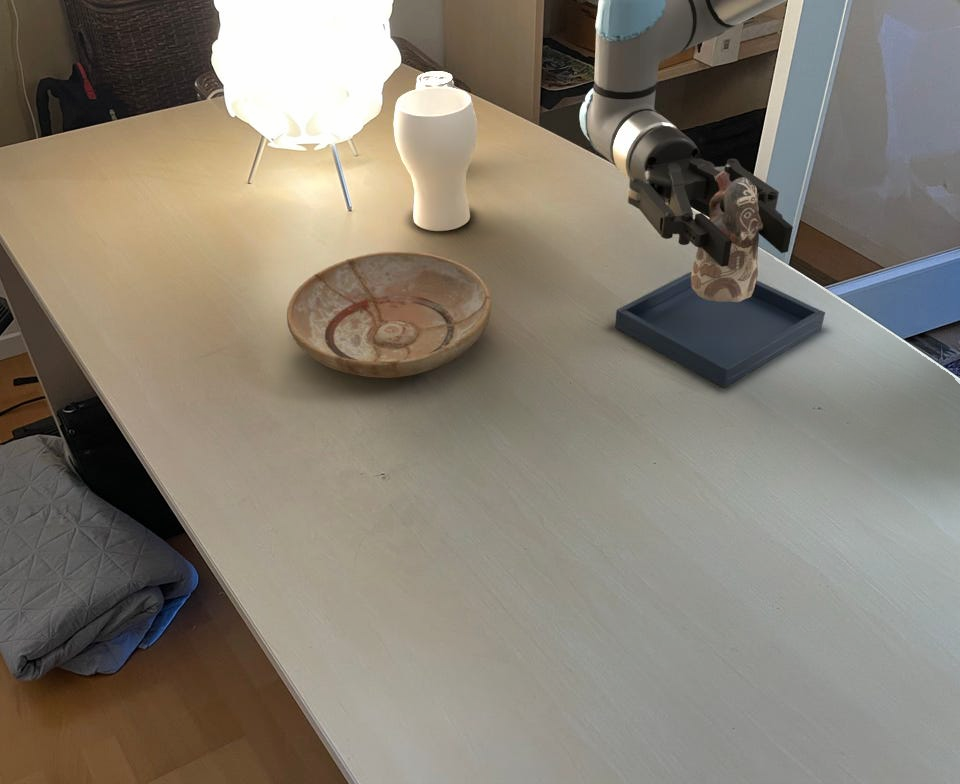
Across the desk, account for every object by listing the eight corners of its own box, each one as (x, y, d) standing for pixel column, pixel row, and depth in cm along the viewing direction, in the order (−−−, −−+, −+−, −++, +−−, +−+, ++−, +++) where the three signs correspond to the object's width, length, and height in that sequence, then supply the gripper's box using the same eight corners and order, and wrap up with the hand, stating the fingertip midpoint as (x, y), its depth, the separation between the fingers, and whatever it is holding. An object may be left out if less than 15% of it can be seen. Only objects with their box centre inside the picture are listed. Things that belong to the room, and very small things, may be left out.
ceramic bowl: (259, 384, 111) (250, 344, 107) (340, 279, 126) (334, 241, 122) (455, 413, 106) (453, 373, 102) (515, 300, 120) (515, 262, 117)
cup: (393, 233, 133) (380, 115, 122) (415, 197, 140) (405, 82, 129) (470, 239, 131) (464, 120, 120) (488, 203, 138) (484, 86, 127)
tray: (821, 330, 114) (825, 312, 112) (723, 388, 107) (726, 369, 105) (711, 277, 122) (713, 259, 121) (614, 327, 116) (616, 309, 114)
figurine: (722, 310, 107) (740, 200, 98) (676, 284, 111) (689, 176, 102) (768, 288, 110) (790, 179, 101) (722, 263, 114) (739, 156, 105)
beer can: (460, 158, 148) (455, 70, 139) (457, 174, 144) (451, 85, 135) (424, 158, 148) (417, 71, 139) (420, 174, 145) (412, 85, 136)
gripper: (725, 175, 121) (830, 262, 107) (580, 205, 118) (668, 299, 103) (735, 110, 116) (847, 192, 101) (583, 140, 112) (677, 230, 97)
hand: (757, 246), depth 102 cm, fingers closed on figurine, 6 cm apart
